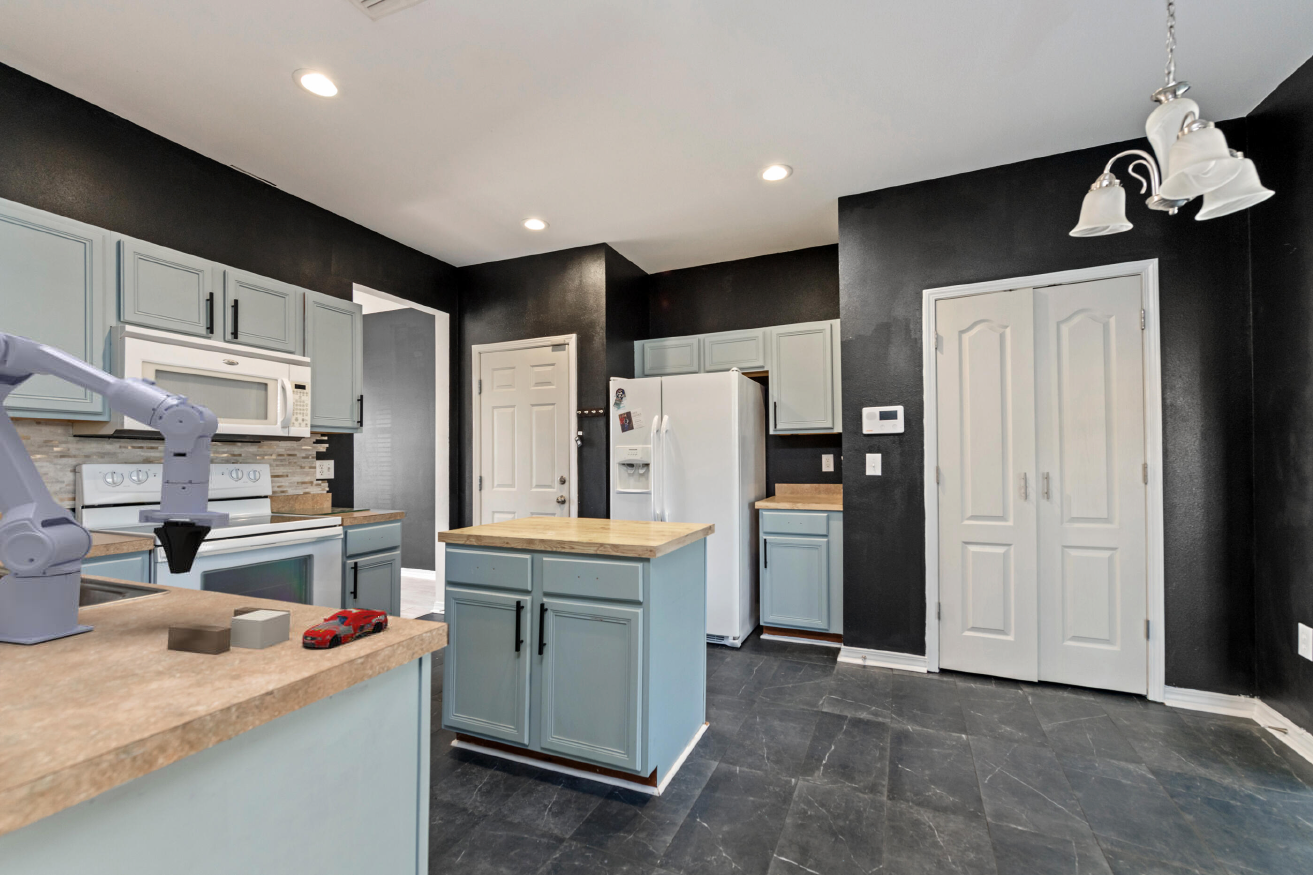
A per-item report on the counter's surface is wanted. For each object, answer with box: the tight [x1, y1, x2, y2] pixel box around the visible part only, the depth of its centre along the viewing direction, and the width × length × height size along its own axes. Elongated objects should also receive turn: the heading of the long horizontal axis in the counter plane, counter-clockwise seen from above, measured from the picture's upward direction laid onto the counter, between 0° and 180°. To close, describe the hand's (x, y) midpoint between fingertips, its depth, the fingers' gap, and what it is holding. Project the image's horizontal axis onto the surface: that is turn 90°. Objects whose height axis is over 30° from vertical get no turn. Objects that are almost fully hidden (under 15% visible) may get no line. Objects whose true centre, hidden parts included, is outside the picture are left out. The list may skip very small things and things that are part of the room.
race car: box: [301, 607, 389, 649], centre depth 90 cm, size 13×5×4 cm, turn 159°
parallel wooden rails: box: [166, 606, 291, 655], centre depth 88 cm, size 8×12×3 cm, turn 168°
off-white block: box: [230, 610, 291, 650], centre depth 87 cm, size 5×5×4 cm
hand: (180, 572), depth 92 cm, fingers closed
